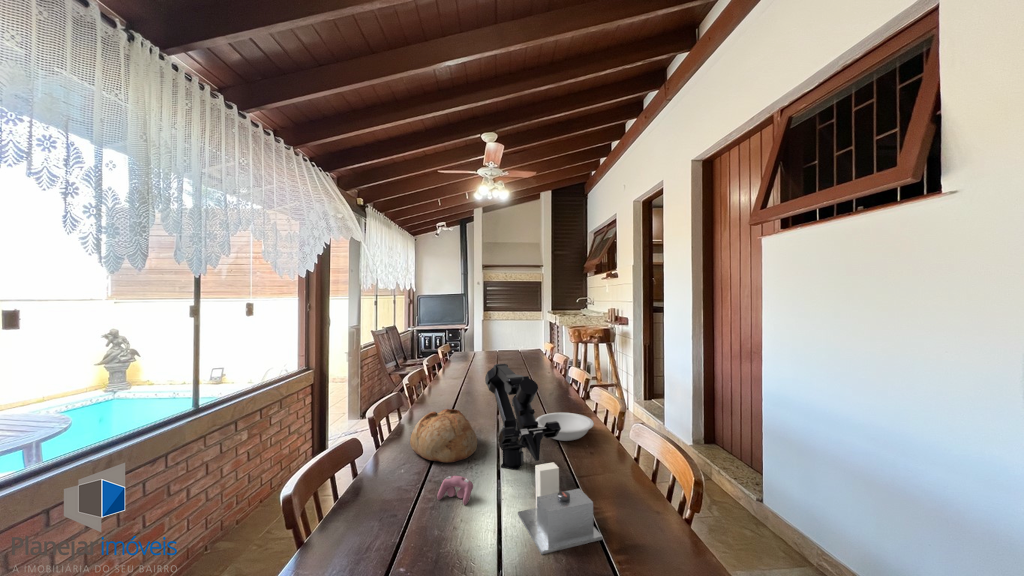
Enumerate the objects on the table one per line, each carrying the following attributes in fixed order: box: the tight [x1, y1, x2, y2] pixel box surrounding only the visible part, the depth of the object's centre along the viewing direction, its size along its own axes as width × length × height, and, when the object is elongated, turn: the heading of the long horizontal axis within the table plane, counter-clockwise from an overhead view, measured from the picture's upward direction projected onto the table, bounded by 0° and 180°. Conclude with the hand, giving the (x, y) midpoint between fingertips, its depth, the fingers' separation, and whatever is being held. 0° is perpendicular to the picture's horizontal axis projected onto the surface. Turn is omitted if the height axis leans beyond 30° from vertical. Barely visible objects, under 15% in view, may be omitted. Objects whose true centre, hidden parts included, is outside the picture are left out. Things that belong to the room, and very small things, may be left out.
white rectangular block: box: [534, 462, 560, 508], centre depth 100 cm, size 10×6×12 cm, turn 18°
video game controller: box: [436, 475, 474, 506], centre depth 111 cm, size 10×5×7 cm, turn 71°
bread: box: [409, 408, 478, 464], centre depth 144 cm, size 26×23×15 cm
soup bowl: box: [535, 411, 595, 442], centre depth 156 cm, size 24×24×7 cm
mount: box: [517, 488, 603, 555], centre depth 97 cm, size 16×16×10 cm
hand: (537, 460), depth 109 cm, fingers closed
